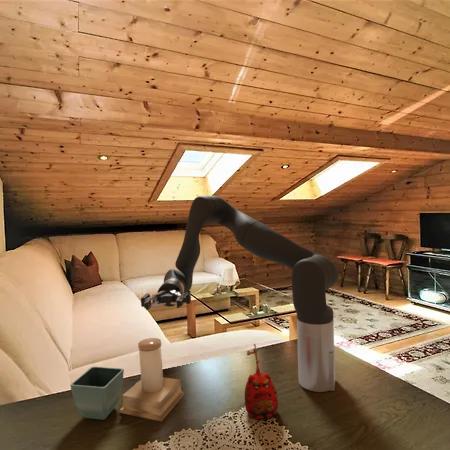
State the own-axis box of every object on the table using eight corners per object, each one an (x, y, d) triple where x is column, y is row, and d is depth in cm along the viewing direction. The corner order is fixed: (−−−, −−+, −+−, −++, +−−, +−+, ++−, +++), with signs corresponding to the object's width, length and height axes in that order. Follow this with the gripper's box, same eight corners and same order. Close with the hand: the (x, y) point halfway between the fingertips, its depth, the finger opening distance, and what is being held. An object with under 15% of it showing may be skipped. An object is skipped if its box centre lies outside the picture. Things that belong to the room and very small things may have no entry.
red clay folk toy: (249, 424, 73) (246, 356, 72) (241, 405, 80) (238, 343, 79) (282, 418, 75) (280, 352, 74) (271, 400, 82) (269, 340, 81)
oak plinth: (184, 394, 86) (183, 379, 86) (161, 421, 75) (160, 404, 75) (146, 387, 90) (145, 373, 89) (119, 412, 79) (118, 396, 79)
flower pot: (107, 427, 74) (104, 387, 74) (71, 423, 76) (69, 384, 75) (126, 403, 83) (124, 368, 82) (94, 401, 84) (92, 366, 84)
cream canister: (168, 382, 84) (165, 339, 83) (156, 394, 79) (153, 348, 78) (149, 379, 86) (146, 337, 85) (136, 391, 81) (133, 345, 80)
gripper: (148, 281, 109) (135, 293, 92) (192, 278, 109) (187, 290, 93) (150, 304, 109) (137, 320, 93) (194, 301, 109) (189, 317, 93)
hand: (162, 305), depth 93 cm, fingers open, 8 cm apart
